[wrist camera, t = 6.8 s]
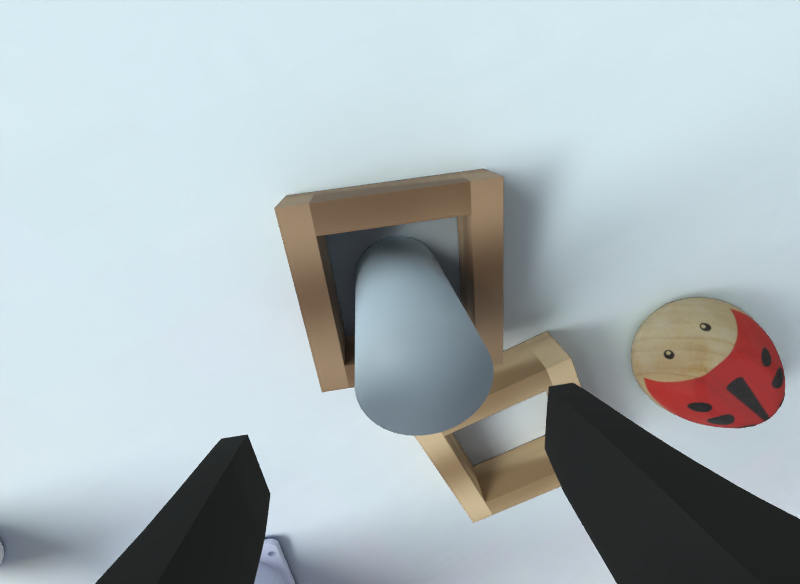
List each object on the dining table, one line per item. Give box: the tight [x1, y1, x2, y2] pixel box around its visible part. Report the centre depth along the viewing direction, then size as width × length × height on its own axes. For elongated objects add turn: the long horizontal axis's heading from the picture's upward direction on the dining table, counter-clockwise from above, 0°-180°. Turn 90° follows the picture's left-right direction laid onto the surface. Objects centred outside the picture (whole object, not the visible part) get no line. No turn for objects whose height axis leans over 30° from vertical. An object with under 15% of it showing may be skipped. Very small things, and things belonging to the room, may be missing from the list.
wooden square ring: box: [274, 169, 503, 392], centre depth 17 cm, size 8×8×2 cm
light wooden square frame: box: [415, 331, 581, 523], centre depth 21 cm, size 8×8×2 cm
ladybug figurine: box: [631, 297, 785, 428], centre depth 21 cm, size 7×10×4 cm
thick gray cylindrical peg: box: [355, 236, 494, 436], centre depth 14 cm, size 4×4×8 cm
